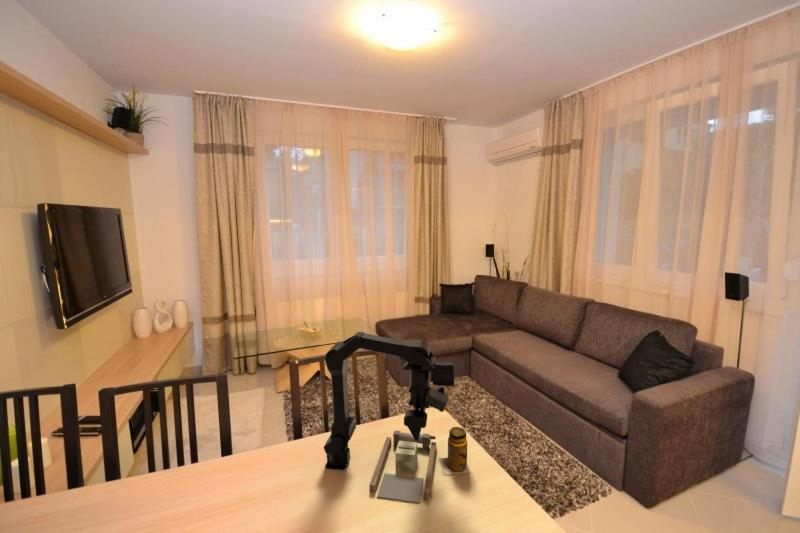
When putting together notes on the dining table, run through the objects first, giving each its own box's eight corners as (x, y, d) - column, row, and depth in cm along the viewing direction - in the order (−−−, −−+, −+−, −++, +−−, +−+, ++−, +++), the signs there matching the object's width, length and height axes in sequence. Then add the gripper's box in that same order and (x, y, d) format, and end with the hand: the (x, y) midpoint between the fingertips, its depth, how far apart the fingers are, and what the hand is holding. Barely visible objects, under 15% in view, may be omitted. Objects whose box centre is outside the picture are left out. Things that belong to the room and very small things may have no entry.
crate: (395, 470, 112) (395, 452, 111) (399, 457, 118) (399, 439, 117) (414, 472, 111) (414, 454, 110) (417, 459, 116) (417, 441, 115)
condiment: (471, 472, 110) (471, 437, 108) (444, 475, 109) (444, 440, 107) (463, 456, 117) (464, 423, 115) (438, 459, 116) (438, 425, 114)
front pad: (377, 497, 101) (377, 496, 101) (384, 474, 110) (384, 473, 110) (419, 503, 99) (419, 502, 99) (423, 479, 108) (423, 478, 108)
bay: (369, 492, 103) (369, 478, 102) (387, 440, 126) (387, 428, 125) (429, 500, 100) (429, 485, 99) (436, 445, 123) (436, 433, 122)
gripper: (444, 402, 96) (443, 454, 98) (448, 371, 114) (447, 416, 116) (403, 398, 98) (403, 449, 100) (414, 368, 116) (413, 412, 118)
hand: (419, 430), depth 109 cm, fingers open, 9 cm apart
